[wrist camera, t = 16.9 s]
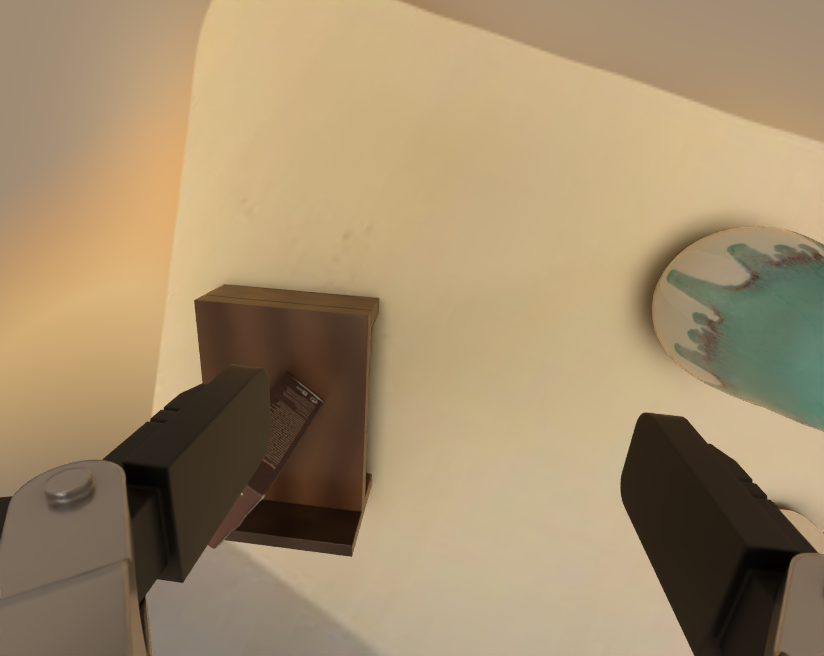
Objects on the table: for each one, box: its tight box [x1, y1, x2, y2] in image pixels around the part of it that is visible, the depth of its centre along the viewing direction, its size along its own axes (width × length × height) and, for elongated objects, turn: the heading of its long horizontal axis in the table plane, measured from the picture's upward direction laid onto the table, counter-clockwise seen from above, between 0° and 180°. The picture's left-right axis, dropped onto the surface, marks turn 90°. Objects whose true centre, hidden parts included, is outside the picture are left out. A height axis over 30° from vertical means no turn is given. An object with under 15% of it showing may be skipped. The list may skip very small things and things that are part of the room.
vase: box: [652, 226, 824, 431], centre depth 29 cm, size 12×12×18 cm
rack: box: [194, 285, 379, 557], centre depth 40 cm, size 14×20×9 cm
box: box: [208, 373, 324, 549], centre depth 34 cm, size 6×4×12 cm
